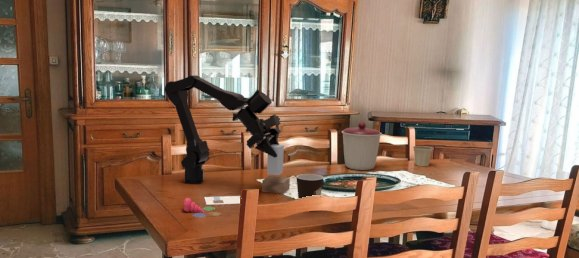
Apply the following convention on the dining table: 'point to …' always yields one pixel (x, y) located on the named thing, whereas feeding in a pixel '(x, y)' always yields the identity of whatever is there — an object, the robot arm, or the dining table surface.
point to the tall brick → (275, 161)
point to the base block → (275, 184)
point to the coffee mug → (309, 185)
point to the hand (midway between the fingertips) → (279, 155)
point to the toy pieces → (196, 208)
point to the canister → (360, 147)
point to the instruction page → (222, 200)
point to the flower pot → (422, 155)
